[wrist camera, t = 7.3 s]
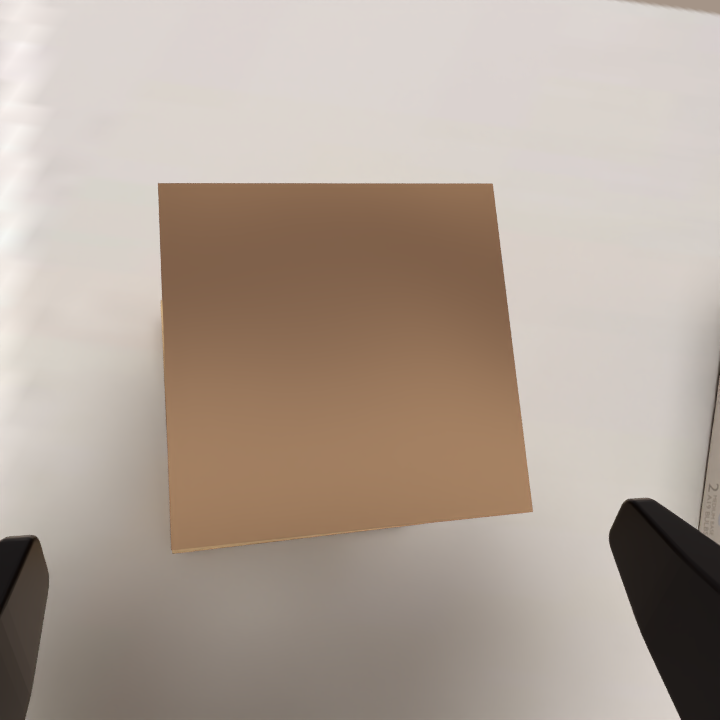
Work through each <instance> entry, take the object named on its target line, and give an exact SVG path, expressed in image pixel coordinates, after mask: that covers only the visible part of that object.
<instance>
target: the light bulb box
mask: <svg viewBox="0 0 720 720" xmlns="http://www.w3.org/2000/svg"><path fill="white" fill-rule="evenodd" d="M699 531H700V532H702V533H703V534H704V535H706V536H707V537H709V538H710V539H712V540H713V541H715V542H716V543H718V544H719V545H720V377H719V385H718V392H717V400H716V408H715V415H714V422H713V429H712V436H711V444H710V451H709V459H708V467H707V475H706V482H705V490H704V497H703V504H702V511H701V519H700V527H699Z"/></svg>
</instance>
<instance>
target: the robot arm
mask: <svg viewBox="0 0 720 720" xmlns="http://www.w3.org/2000/svg"><path fill="white" fill-rule="evenodd" d="M609 543H610V548H611V551H612V553H613V556H614V559H615V562H616V565H617V568H618V570H619V573H620V576H621V579H622V582H623V585H624V587H625V590H626V593H627V596H628V599H629V602H630V604H631V607H632V610H633V613H634V616H635V619H636V621H637V624H638V626H639V629H640V632H641V634H642V636H643V639H644V641H645V643H646V645H647V648H648V650H649V652H650V654H651V656H652V658H653V661H654V663H655V665H656V667H657V669H658V671H659V673H660V676H661V678H662V680H663V682H664V684H665V686H666V688H667V691H668V693H669V695H670V697H671V699H672V701H673V703H674V706H675V708H676V710H677V712H678V714H679V716H680V718H681V720H720V545H719V544H718V543H716V542H715V541H713V540H712V539H710V538H709V537H707V536H706V535H704V534H703V533H702V532H700V531H699V530H697V529H696V528H694V527H693V526H691V525H690V524H688V523H687V522H686V521H684V520H683V519H681V518H680V517H678V516H677V515H675V514H674V513H672V512H671V511H670V510H668V509H667V508H665V507H664V506H662V505H661V504H659V503H658V502H656V501H655V500H653V499H650V498H634V499H627V500H626V501H624V502H623V504H622V506H621V508H620V510H619V512H618V514H617V516H616V519H615V521H614V523H613V525H612V527H611V529H610V533H609ZM48 589H49V573H48V569H47V565H46V562H45V558H44V555H43V551H42V548H41V544H40V541H39V539H38V538H37V537H36V536H34V535H24V536H9V537H6V538H4V539H2V540H1V541H0V720H25V717H26V713H27V709H28V705H29V701H30V697H31V692H32V687H33V681H34V675H35V669H36V663H37V657H38V651H39V644H40V638H41V632H42V626H43V620H44V614H45V608H46V601H47V595H48Z"/></svg>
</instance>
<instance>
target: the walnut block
mask: <svg viewBox="0 0 720 720" xmlns="http://www.w3.org/2000/svg"><path fill="white" fill-rule="evenodd" d="M158 196H159V223H160V251H161V279H162V306H163V334H164V361H165V389H166V417H167V444H168V472H169V500H170V527H171V550H180V549H189V548H199V547H208V546H217V545H227V544H236V543H246V542H255V541H264V540H274V539H283V538H292V537H302V536H311V535H320V534H330V533H339V532H349V531H358V530H367V529H377V528H386V527H395V526H405V525H414V524H423V523H433V522H442V521H451V520H461V519H470V518H480V517H489V516H498V515H508V514H517V513H526V512H533V509H532V501H531V493H530V485H529V476H528V468H527V460H526V452H525V444H524V436H523V427H522V419H521V411H520V403H519V395H518V387H517V378H516V370H515V362H514V354H513V346H512V338H511V330H510V321H509V313H508V305H507V297H506V289H505V281H504V272H503V264H502V256H501V248H500V240H499V232H498V223H497V215H496V207H495V199H494V191H493V184H327V183H158Z"/></svg>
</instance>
